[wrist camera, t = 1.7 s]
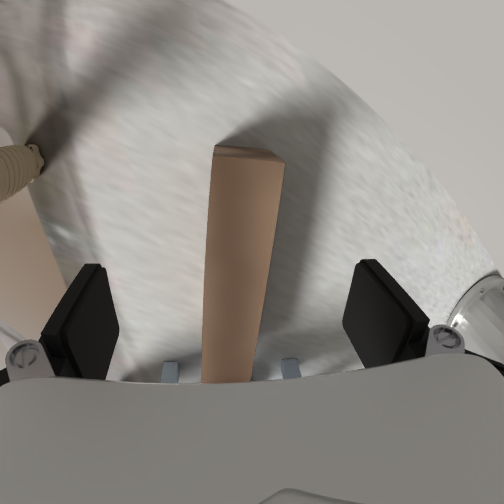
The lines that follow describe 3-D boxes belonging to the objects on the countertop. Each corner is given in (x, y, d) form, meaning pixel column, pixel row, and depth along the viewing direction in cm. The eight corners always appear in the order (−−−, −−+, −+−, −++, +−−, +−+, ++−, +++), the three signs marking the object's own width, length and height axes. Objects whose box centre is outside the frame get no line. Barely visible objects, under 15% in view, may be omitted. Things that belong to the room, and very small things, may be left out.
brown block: (268, 150, 22) (285, 162, 16) (243, 339, 29) (249, 386, 24) (214, 144, 21) (212, 155, 16) (203, 338, 29) (201, 384, 23)
